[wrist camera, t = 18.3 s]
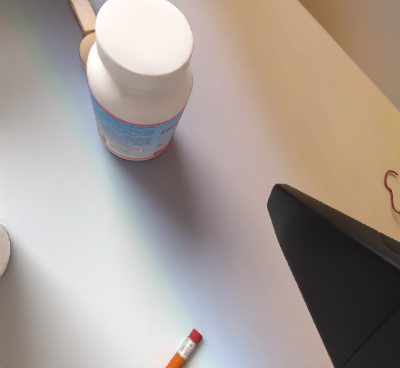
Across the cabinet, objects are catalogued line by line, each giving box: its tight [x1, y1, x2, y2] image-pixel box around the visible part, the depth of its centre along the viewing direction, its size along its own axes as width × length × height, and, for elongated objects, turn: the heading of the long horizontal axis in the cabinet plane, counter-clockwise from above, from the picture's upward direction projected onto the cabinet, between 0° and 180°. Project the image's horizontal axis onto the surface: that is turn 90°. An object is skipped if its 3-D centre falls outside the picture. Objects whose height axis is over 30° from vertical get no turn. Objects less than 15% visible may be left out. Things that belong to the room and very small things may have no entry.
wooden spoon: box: [69, 0, 97, 72], centre depth 24 cm, size 14×4×1 cm, turn 26°
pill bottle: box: [87, 0, 194, 161], centre depth 18 cm, size 6×6×11 cm
